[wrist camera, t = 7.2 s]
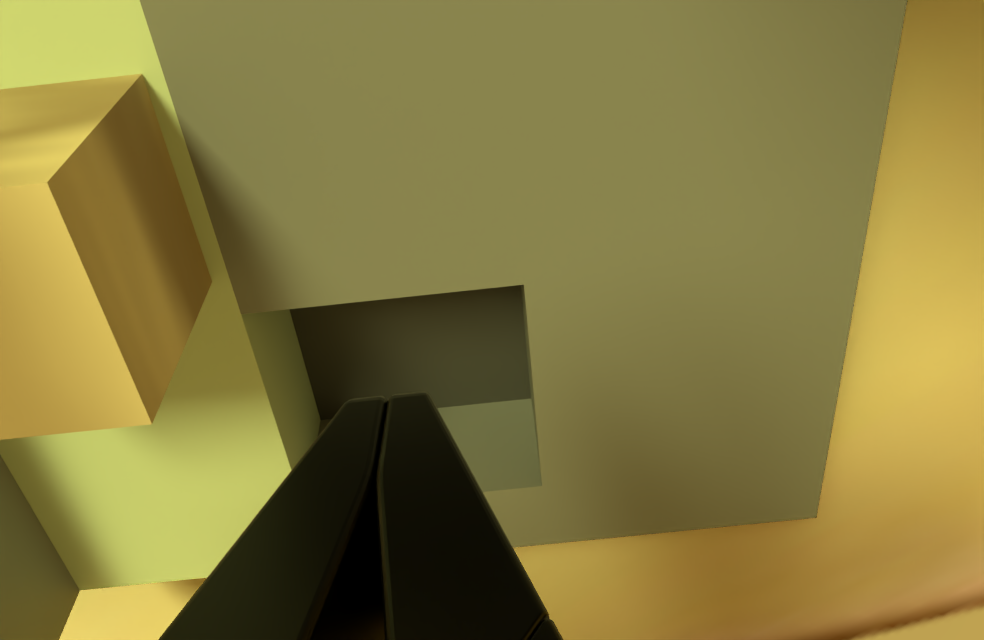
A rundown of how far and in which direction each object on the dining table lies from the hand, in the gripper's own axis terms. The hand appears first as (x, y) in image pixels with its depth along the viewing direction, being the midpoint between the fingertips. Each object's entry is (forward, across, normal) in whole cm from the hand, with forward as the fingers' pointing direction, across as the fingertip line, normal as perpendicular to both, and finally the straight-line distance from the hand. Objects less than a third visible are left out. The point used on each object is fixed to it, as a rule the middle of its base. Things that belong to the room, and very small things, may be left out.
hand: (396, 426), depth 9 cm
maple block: (+7, +6, 0) cm, 10 cm away
